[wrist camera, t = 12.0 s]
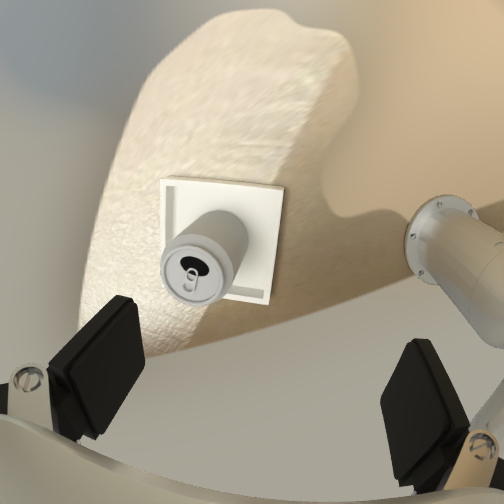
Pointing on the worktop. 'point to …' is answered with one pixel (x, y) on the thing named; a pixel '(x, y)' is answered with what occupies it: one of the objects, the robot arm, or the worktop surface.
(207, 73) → the worktop surface
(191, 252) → the can
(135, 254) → the worktop surface
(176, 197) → the tray
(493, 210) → the worktop surface
